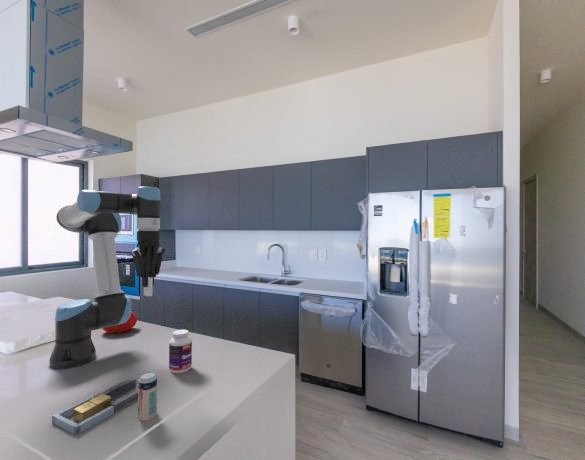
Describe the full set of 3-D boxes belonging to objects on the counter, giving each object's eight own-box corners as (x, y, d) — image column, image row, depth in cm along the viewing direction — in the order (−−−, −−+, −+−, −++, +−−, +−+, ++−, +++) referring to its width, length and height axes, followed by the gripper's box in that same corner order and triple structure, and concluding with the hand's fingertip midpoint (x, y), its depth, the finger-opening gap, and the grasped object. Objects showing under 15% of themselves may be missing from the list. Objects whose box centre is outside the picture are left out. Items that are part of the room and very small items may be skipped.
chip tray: (52, 424, 81) (52, 415, 81) (90, 405, 90) (90, 396, 90) (75, 437, 77) (76, 427, 77) (113, 415, 86) (113, 406, 86)
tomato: (96, 332, 153) (96, 312, 153) (130, 324, 165) (130, 306, 165) (106, 339, 144) (106, 318, 143) (141, 330, 156) (141, 311, 156)
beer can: (142, 412, 87) (142, 371, 87) (159, 411, 87) (159, 371, 87) (135, 423, 82) (135, 379, 82) (152, 422, 83) (153, 379, 83)
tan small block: (73, 419, 83) (73, 409, 83) (88, 411, 87) (88, 401, 87) (82, 424, 81) (82, 413, 81) (97, 415, 85) (97, 405, 85)
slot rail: (93, 404, 91) (93, 396, 91) (132, 384, 102) (132, 377, 102) (114, 413, 86) (114, 405, 86) (152, 391, 98) (152, 384, 98)
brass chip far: (88, 411, 86) (88, 400, 86) (102, 403, 90) (102, 393, 90) (97, 414, 85) (97, 404, 85) (111, 407, 88) (111, 397, 88)
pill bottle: (184, 376, 109) (184, 336, 108) (164, 373, 110) (164, 334, 110) (195, 366, 117) (195, 329, 116) (177, 363, 118) (177, 327, 118)
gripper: (139, 230, 100) (139, 300, 100) (170, 230, 112) (170, 293, 112) (124, 229, 103) (124, 298, 103) (156, 229, 115) (155, 291, 115)
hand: (148, 295), depth 108 cm, fingers closed
